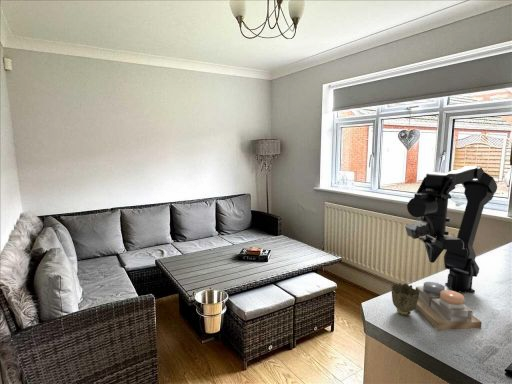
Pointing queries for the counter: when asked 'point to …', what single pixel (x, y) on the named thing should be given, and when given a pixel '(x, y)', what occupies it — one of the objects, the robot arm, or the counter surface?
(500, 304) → the counter surface
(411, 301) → the cup
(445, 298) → the plunger terracotta
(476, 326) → the button board
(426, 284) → the plunger grey
